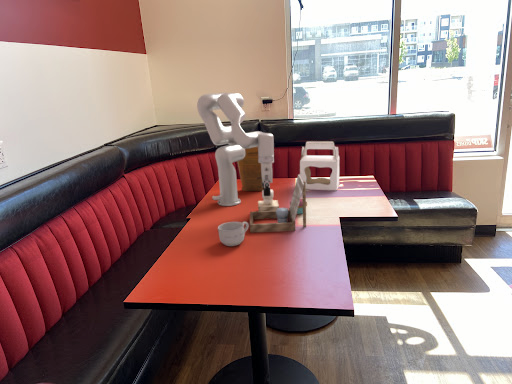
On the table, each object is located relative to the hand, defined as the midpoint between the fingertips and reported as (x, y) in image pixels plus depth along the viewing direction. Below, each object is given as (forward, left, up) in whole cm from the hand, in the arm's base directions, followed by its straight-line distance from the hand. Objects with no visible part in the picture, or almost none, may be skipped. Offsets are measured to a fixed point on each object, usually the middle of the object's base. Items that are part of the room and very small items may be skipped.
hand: (266, 192), depth 192 cm
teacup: (-14, -35, -11) cm, 40 cm away
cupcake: (+16, -1, -11) cm, 19 cm away
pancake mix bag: (-6, +43, -11) cm, 44 cm away
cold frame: (+4, -16, -10) cm, 20 cm away
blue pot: (+7, -15, -11) cm, 20 cm away
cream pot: (0, 0, -5) cm, 5 cm away
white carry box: (+34, +44, -11) cm, 56 cm away
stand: (+1, 0, -10) cm, 10 cm away
